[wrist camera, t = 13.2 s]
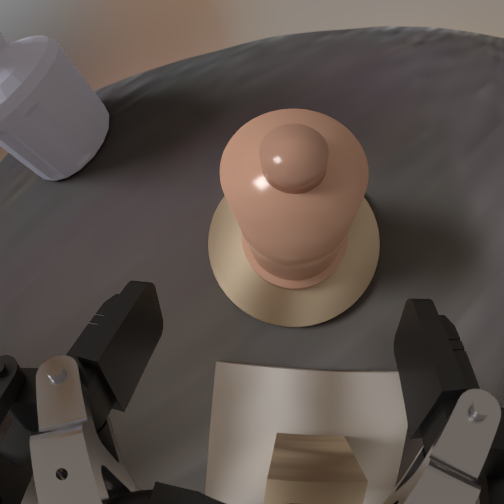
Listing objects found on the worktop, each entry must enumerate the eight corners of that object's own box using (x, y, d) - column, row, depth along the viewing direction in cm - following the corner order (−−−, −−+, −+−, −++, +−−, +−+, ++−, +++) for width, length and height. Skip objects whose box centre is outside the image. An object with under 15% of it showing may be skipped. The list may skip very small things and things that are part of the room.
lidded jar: (239, 286, 20) (189, 233, 10) (248, 190, 22) (216, 86, 12) (344, 293, 19) (390, 245, 10) (345, 195, 21) (375, 91, 11)
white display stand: (206, 518, 16) (167, 581, 9) (219, 360, 20) (174, 371, 12) (378, 527, 15) (407, 591, 7) (409, 370, 18) (470, 383, 10)
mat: (200, 318, 20) (198, 318, 20) (221, 164, 23) (219, 160, 23) (375, 331, 19) (377, 331, 18) (374, 171, 22) (376, 167, 21)
